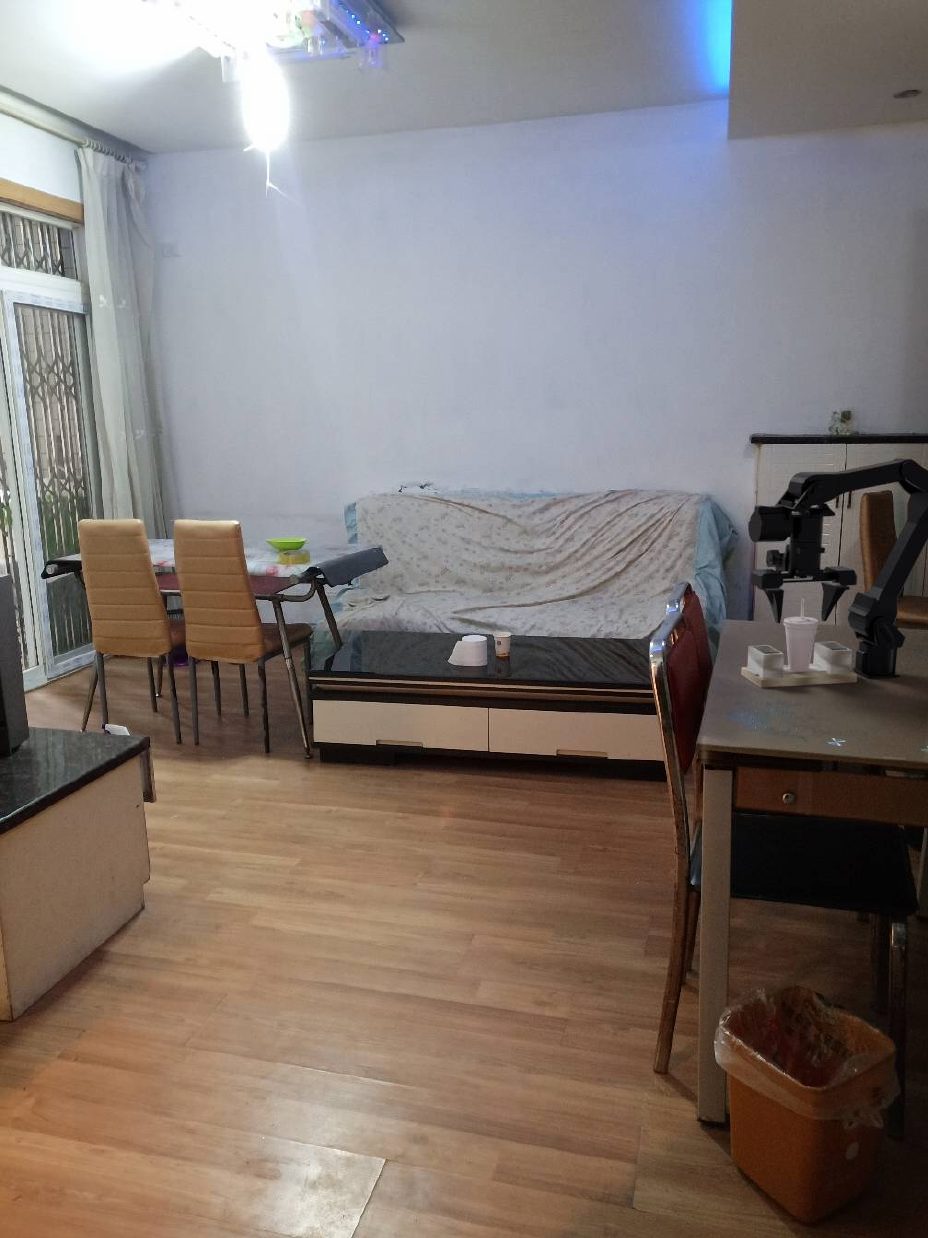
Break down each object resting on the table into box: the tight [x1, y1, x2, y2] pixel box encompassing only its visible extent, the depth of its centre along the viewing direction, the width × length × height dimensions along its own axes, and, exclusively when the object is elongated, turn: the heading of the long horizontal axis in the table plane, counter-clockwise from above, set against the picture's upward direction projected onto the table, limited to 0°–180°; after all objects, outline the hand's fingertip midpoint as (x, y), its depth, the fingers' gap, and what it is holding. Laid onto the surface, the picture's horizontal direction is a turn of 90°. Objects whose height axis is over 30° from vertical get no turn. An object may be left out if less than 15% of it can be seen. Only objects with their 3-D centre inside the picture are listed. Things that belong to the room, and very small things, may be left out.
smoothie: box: [783, 596, 820, 672], centre depth 185 cm, size 6×6×14 cm
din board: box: [740, 641, 858, 689], centre depth 187 cm, size 19×9×6 cm, turn 97°
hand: (800, 622), depth 185 cm, fingers open, 9 cm apart
